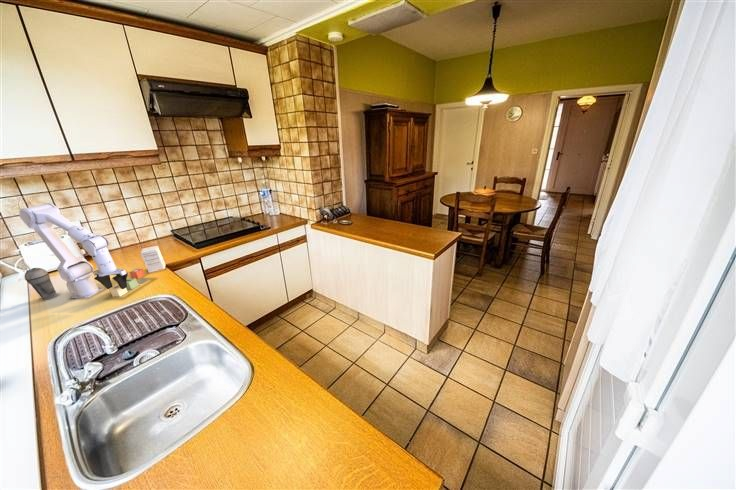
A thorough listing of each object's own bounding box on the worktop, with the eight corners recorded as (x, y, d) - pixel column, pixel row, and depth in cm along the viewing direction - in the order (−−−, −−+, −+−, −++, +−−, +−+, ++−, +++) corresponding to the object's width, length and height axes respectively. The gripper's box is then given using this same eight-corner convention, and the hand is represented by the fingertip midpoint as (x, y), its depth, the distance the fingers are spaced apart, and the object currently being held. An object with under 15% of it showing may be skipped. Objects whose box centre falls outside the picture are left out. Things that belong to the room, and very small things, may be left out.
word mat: (106, 298, 124) (105, 297, 124) (139, 279, 140) (139, 278, 140) (123, 298, 123) (122, 297, 123) (155, 278, 139) (154, 278, 139)
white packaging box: (150, 268, 152) (142, 248, 147) (166, 264, 155) (158, 245, 150) (148, 273, 146) (139, 252, 141) (164, 269, 149) (156, 249, 144)
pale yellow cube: (112, 296, 124) (108, 289, 123) (120, 291, 128) (117, 284, 126) (120, 296, 124) (116, 289, 122) (128, 291, 127) (124, 284, 126)
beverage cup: (63, 294, 129) (41, 257, 122) (42, 302, 123) (17, 264, 116) (57, 291, 132) (35, 255, 125) (36, 299, 126) (11, 262, 119)
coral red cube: (132, 279, 141) (129, 272, 139) (138, 275, 144) (135, 268, 143) (139, 279, 140) (135, 272, 139) (145, 275, 144) (142, 268, 142)
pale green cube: (124, 289, 130) (120, 282, 128) (131, 285, 133) (128, 278, 132) (131, 289, 129) (128, 282, 128) (138, 285, 133) (135, 278, 131)
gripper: (80, 266, 116) (94, 292, 122) (110, 266, 115) (123, 292, 120) (97, 259, 123) (109, 284, 128) (125, 259, 121) (136, 284, 127)
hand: (117, 288), depth 125 cm, fingers open, 7 cm apart
